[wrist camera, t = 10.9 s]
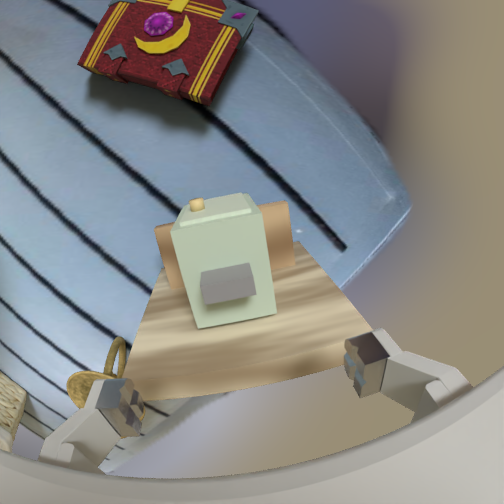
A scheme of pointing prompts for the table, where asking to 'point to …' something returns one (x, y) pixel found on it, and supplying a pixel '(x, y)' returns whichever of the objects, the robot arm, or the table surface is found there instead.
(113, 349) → the wall sconce
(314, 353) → the wall board
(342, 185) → the table surface
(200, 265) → the sage cabinet
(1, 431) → the storage basket
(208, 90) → the decorative book
